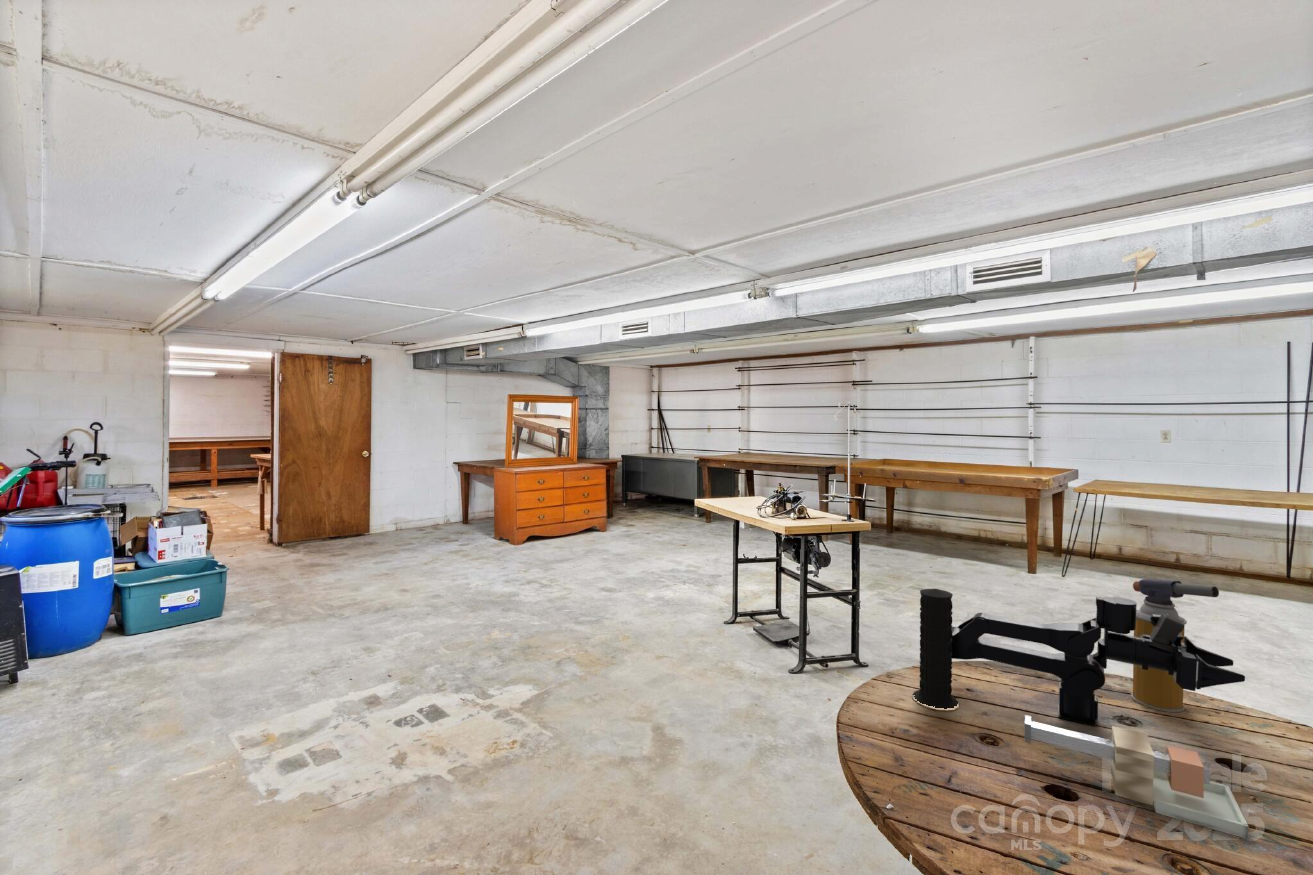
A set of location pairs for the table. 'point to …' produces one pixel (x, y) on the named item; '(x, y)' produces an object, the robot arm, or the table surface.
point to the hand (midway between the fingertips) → (1238, 670)
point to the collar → (1186, 771)
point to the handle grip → (936, 649)
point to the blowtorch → (1152, 683)
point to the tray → (1200, 806)
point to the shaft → (1090, 744)
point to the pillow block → (1132, 765)
